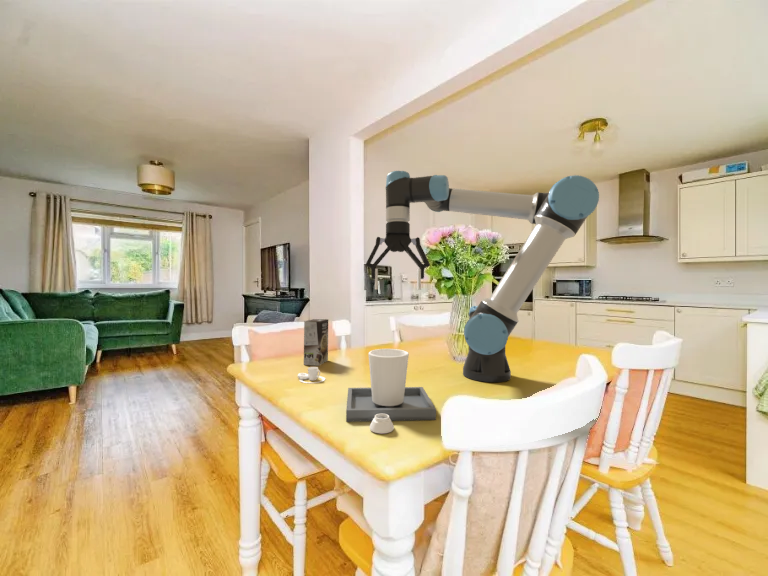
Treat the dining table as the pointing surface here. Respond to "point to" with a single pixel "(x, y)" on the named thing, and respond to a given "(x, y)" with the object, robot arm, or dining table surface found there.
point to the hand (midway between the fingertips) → (397, 289)
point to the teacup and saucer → (310, 375)
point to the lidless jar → (381, 424)
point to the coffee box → (315, 342)
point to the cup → (388, 376)
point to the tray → (411, 409)
